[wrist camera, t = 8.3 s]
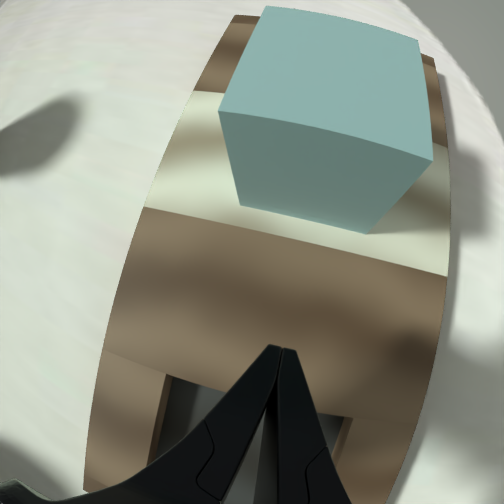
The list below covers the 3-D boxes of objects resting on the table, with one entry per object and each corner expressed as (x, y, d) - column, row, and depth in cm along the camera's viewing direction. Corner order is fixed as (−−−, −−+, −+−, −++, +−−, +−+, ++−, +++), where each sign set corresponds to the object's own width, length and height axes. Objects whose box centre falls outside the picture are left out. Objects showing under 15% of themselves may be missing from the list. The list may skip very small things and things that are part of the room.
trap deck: (348, 541, 13) (355, 556, 11) (96, 479, 15) (83, 489, 13) (426, 72, 21) (433, 58, 19) (236, 30, 23) (234, 14, 21)
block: (365, 234, 16) (433, 161, 8) (239, 205, 17) (217, 110, 9) (375, 132, 18) (417, 40, 10) (268, 108, 18) (266, 5, 11)
